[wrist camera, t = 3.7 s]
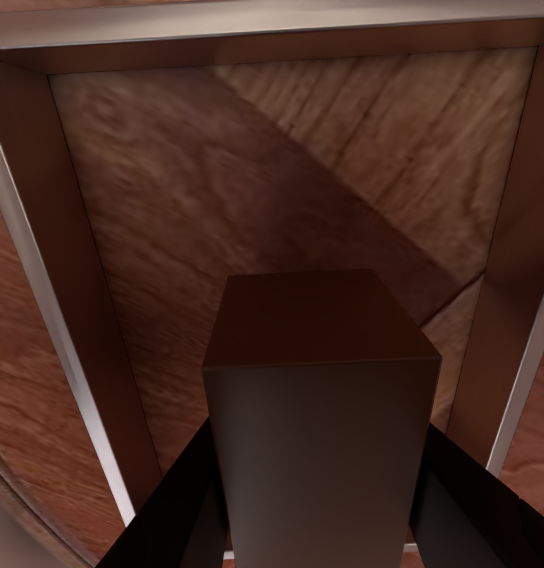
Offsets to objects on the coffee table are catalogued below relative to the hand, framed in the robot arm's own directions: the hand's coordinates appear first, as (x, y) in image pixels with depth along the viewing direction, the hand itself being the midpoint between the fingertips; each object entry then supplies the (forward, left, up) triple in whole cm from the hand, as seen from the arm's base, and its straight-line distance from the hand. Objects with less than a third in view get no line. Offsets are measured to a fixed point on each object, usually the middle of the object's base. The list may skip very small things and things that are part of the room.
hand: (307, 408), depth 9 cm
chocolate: (0, 0, -2) cm, 2 cm away
